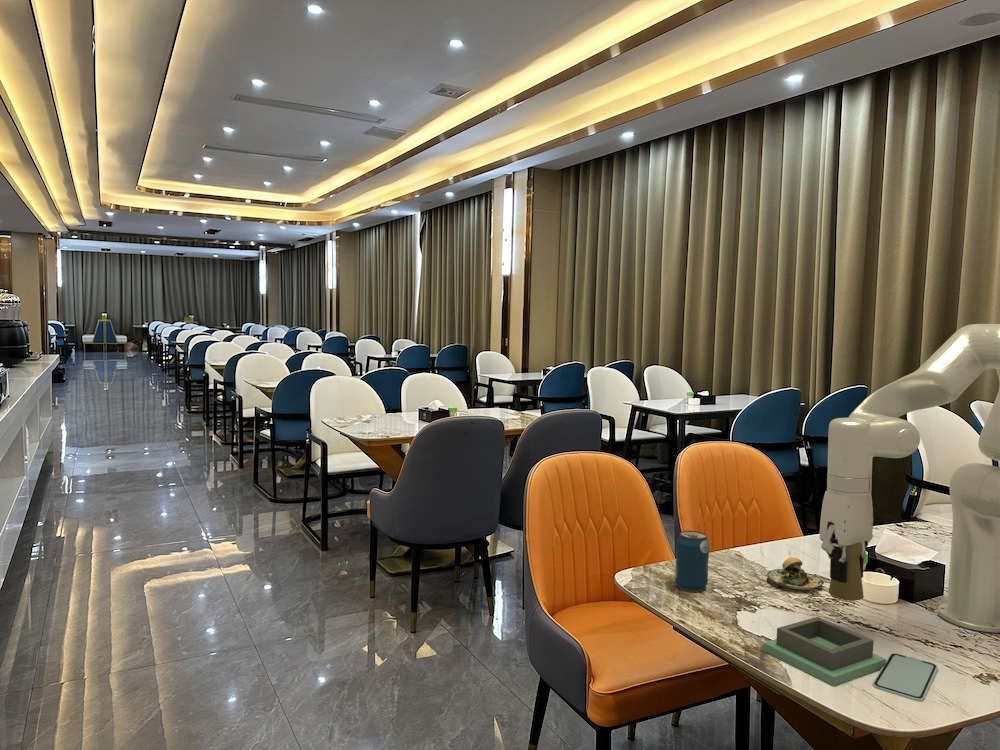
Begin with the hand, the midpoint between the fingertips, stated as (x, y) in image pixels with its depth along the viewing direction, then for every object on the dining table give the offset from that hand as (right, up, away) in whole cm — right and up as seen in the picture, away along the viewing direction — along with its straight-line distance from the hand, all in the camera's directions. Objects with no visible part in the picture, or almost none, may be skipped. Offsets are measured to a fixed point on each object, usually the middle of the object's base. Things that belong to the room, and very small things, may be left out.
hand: (846, 577), depth 136 cm
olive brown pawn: (0, -4, 0) cm, 4 cm away
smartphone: (+2, -13, -17) cm, 21 cm away
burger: (+1, -9, +26) cm, 27 cm away
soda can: (-24, -9, +22) cm, 34 cm away
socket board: (-10, -11, -11) cm, 18 cm away
